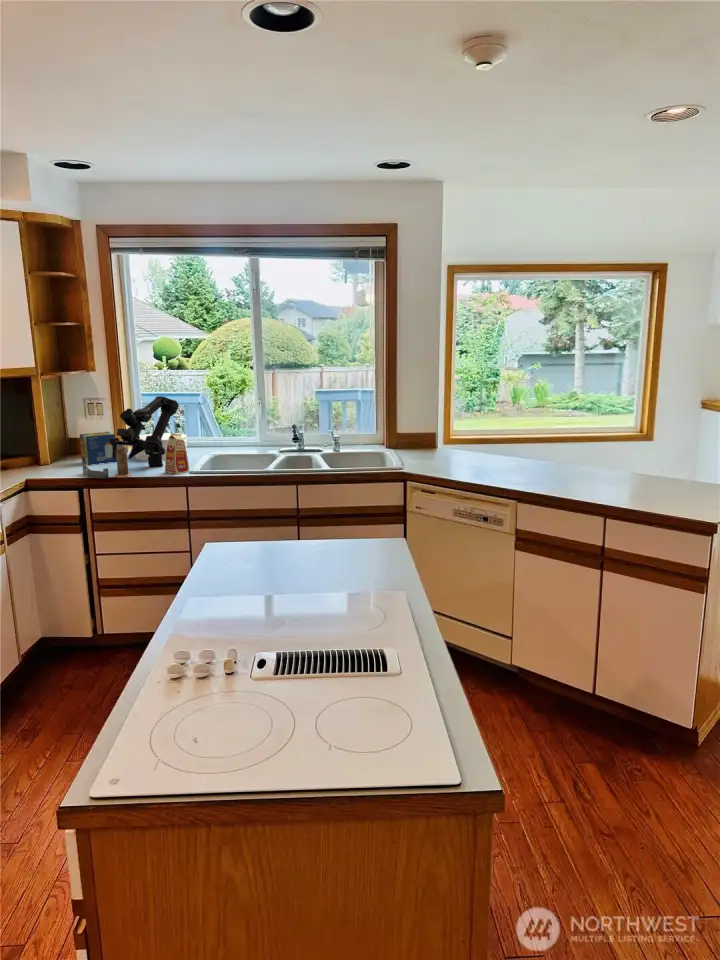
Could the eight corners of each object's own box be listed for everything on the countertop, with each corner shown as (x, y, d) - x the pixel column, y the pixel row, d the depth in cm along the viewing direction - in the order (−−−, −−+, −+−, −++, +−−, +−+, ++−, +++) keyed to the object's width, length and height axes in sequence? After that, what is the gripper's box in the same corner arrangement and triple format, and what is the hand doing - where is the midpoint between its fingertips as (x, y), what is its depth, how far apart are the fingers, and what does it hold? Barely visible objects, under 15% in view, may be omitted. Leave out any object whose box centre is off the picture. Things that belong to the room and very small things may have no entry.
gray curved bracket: (86, 473, 315) (85, 463, 314) (109, 478, 302) (108, 468, 301) (77, 474, 311) (76, 465, 310) (100, 480, 299) (99, 470, 298)
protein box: (81, 462, 342) (79, 434, 339) (111, 459, 352) (108, 431, 348) (87, 465, 334) (85, 436, 331) (117, 462, 344) (115, 433, 340)
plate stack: (157, 451, 378) (156, 432, 376) (197, 454, 368) (196, 434, 366) (125, 459, 353) (123, 438, 350) (166, 462, 343) (165, 441, 340)
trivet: (133, 474, 312) (132, 472, 312) (130, 477, 304) (130, 475, 304) (115, 474, 310) (115, 473, 310) (113, 478, 303) (112, 476, 302)
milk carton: (177, 474, 311) (174, 433, 306) (164, 472, 316) (161, 432, 311) (191, 471, 318) (188, 431, 314) (178, 469, 323) (175, 430, 319)
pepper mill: (125, 473, 310) (123, 444, 307) (130, 474, 307) (127, 445, 304) (116, 474, 307) (113, 445, 304) (120, 475, 304) (118, 446, 301)
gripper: (109, 421, 309) (95, 447, 301) (141, 422, 303) (128, 449, 295) (121, 434, 318) (108, 460, 310) (153, 436, 312) (140, 462, 304)
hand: (120, 458), depth 305 cm, fingers open, 9 cm apart
